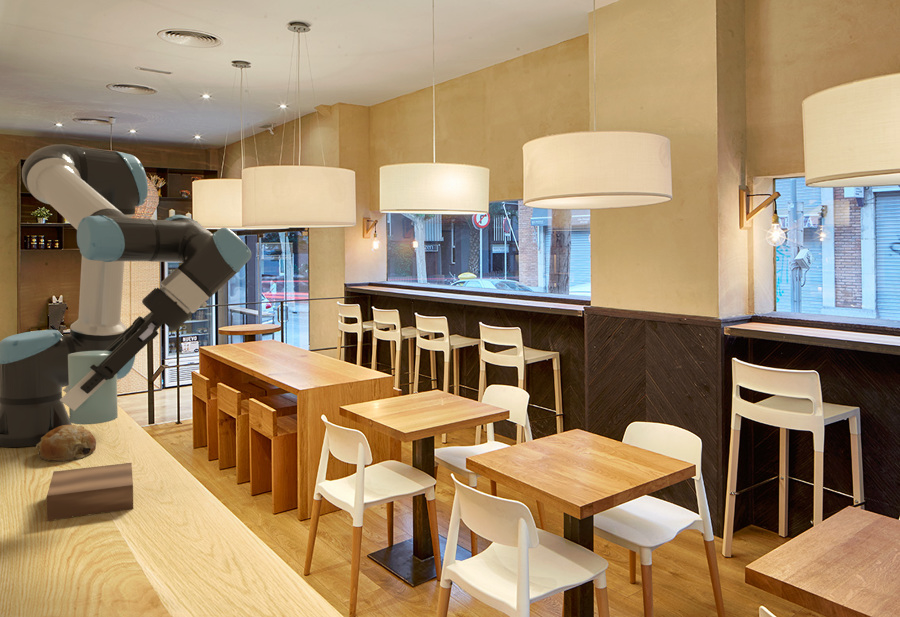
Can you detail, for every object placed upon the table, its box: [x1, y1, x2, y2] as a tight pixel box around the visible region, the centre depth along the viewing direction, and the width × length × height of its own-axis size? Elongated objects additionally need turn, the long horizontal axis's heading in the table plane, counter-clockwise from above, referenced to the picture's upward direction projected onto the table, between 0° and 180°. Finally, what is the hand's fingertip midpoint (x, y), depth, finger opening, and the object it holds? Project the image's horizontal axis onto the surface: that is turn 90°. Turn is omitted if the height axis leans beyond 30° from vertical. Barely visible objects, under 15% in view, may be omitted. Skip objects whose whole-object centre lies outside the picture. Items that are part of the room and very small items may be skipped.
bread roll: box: [35, 424, 97, 462], centre depth 129 cm, size 10×10×8 cm
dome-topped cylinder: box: [68, 351, 118, 425], centre depth 105 cm, size 7×7×11 cm
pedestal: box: [46, 462, 134, 522], centre depth 106 cm, size 12×12×4 cm
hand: (68, 399), depth 104 cm, fingers closed on dome-topped cylinder, 7 cm apart
